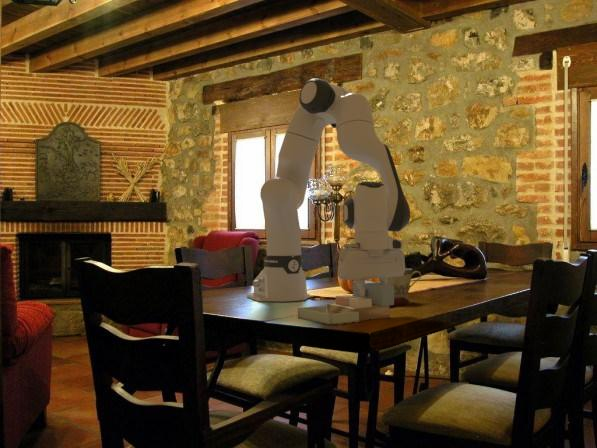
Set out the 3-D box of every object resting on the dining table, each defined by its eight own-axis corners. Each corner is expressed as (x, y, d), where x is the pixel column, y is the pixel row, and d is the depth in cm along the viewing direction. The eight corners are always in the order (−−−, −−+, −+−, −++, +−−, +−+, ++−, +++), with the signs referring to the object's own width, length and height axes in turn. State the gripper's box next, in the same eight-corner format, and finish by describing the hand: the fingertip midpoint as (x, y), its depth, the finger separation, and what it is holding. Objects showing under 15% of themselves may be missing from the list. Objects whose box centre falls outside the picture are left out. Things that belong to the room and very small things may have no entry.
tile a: (335, 303, 161) (335, 296, 161) (348, 302, 163) (347, 295, 163) (344, 305, 157) (344, 297, 157) (357, 304, 159) (357, 296, 159)
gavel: (397, 292, 187) (424, 295, 179) (397, 307, 187) (423, 311, 179) (349, 293, 173) (375, 296, 166) (349, 309, 173) (375, 313, 165)
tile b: (349, 306, 155) (349, 298, 155) (361, 305, 158) (361, 297, 158) (359, 307, 152) (359, 299, 152) (371, 306, 154) (371, 298, 154)
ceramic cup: (383, 303, 183) (383, 270, 183) (376, 299, 193) (376, 268, 193) (426, 302, 185) (425, 269, 185) (416, 298, 194) (416, 267, 195)
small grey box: (394, 304, 156) (394, 285, 156) (381, 306, 154) (382, 286, 154) (364, 298, 167) (364, 280, 166) (353, 299, 164) (353, 281, 164)
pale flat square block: (327, 315, 160) (327, 304, 160) (360, 312, 166) (360, 300, 166) (355, 321, 150) (355, 309, 150) (389, 317, 156) (389, 305, 156)
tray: (297, 317, 157) (297, 308, 157) (325, 315, 161) (325, 305, 161) (330, 325, 144) (330, 314, 144) (358, 322, 149) (358, 311, 149)
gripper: (347, 244, 153) (347, 299, 153) (408, 242, 163) (408, 294, 163) (332, 243, 158) (332, 297, 158) (392, 241, 169) (393, 291, 169)
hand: (372, 295), depth 161 cm, fingers closed on small grey box, 4 cm apart
